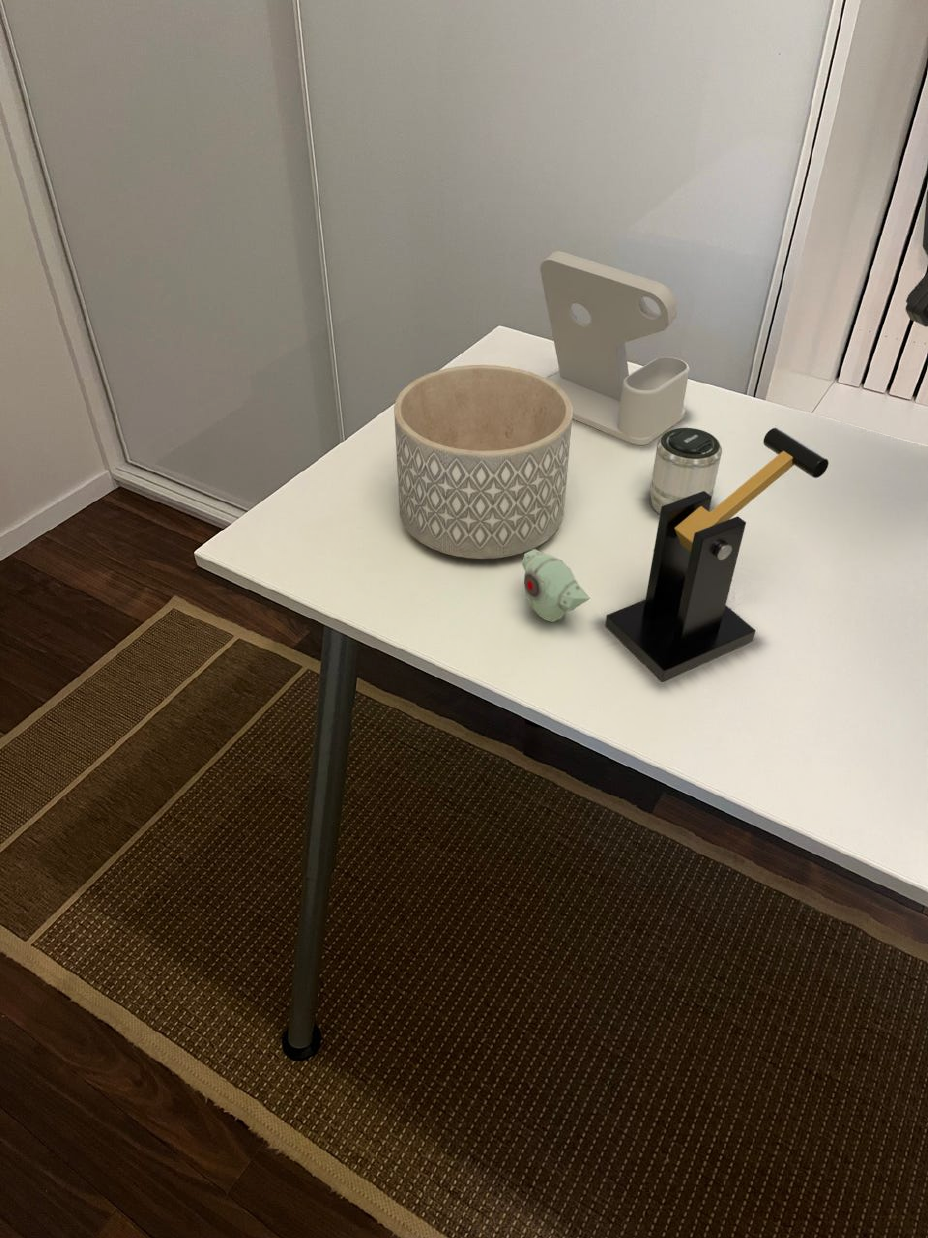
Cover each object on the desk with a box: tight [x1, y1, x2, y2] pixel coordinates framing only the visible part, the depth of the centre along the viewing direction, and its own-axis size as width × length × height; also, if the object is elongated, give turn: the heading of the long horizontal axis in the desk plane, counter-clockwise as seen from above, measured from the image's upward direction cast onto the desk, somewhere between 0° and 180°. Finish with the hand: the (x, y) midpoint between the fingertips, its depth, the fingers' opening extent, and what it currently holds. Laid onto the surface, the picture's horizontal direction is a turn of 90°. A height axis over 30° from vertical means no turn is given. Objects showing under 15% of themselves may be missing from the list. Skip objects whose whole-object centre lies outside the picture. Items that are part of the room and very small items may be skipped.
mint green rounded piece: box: [521, 548, 591, 622], centre depth 81 cm, size 8×4×7 cm, turn 33°
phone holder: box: [539, 250, 690, 446], centre depth 106 cm, size 17×10×18 cm, turn 49°
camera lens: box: [650, 427, 723, 515], centre depth 94 cm, size 6×6×8 cm
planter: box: [393, 364, 573, 560], centre depth 91 cm, size 16×16×13 cm
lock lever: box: [675, 427, 830, 552], centre depth 75 cm, size 12×6×2 cm, turn 120°
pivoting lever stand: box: [605, 491, 756, 683], centre depth 78 cm, size 10×8×13 cm
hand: (915, 317), depth 72 cm, fingers closed
